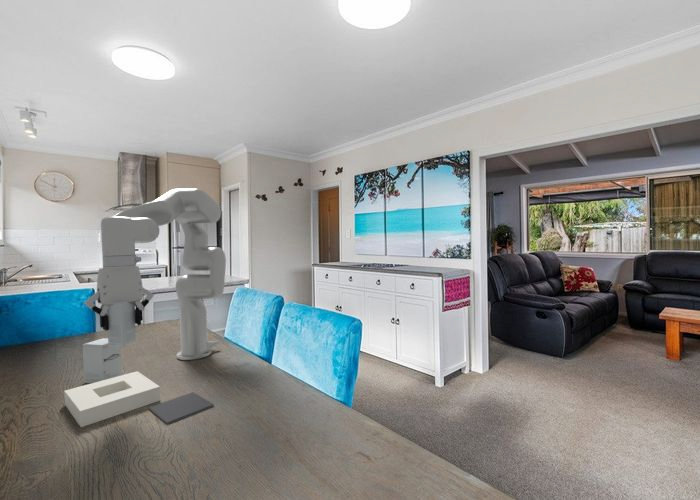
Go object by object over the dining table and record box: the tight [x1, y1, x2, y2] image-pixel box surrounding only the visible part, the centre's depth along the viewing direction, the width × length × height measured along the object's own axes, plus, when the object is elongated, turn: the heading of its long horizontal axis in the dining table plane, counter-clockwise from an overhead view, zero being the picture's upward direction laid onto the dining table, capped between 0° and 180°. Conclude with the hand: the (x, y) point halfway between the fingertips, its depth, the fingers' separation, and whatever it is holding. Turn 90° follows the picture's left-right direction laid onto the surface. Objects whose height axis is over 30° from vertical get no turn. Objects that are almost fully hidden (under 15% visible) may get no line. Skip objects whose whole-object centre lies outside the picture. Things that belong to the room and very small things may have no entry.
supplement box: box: [82, 337, 122, 384], centre depth 114 cm, size 7×7×13 cm
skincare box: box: [107, 301, 137, 348], centre depth 96 cm, size 6×4×12 cm
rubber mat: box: [148, 391, 215, 425], centre depth 94 cm, size 12×12×1 cm
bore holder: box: [64, 371, 161, 428], centre depth 97 cm, size 18×18×4 cm
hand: (122, 326), depth 96 cm, fingers closed on skincare box, 7 cm apart
